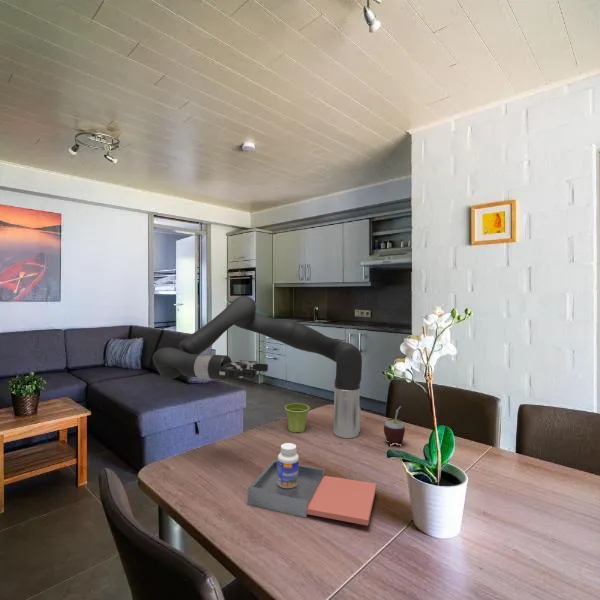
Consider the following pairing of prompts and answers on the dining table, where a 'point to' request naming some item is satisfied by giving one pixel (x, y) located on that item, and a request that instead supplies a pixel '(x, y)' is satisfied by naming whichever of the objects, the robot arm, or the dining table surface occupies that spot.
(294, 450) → the pill bottle
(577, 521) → the dining table surface
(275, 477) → the grey square tray
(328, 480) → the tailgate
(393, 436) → the mate gourd
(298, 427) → the plant pot
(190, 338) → the robot arm
